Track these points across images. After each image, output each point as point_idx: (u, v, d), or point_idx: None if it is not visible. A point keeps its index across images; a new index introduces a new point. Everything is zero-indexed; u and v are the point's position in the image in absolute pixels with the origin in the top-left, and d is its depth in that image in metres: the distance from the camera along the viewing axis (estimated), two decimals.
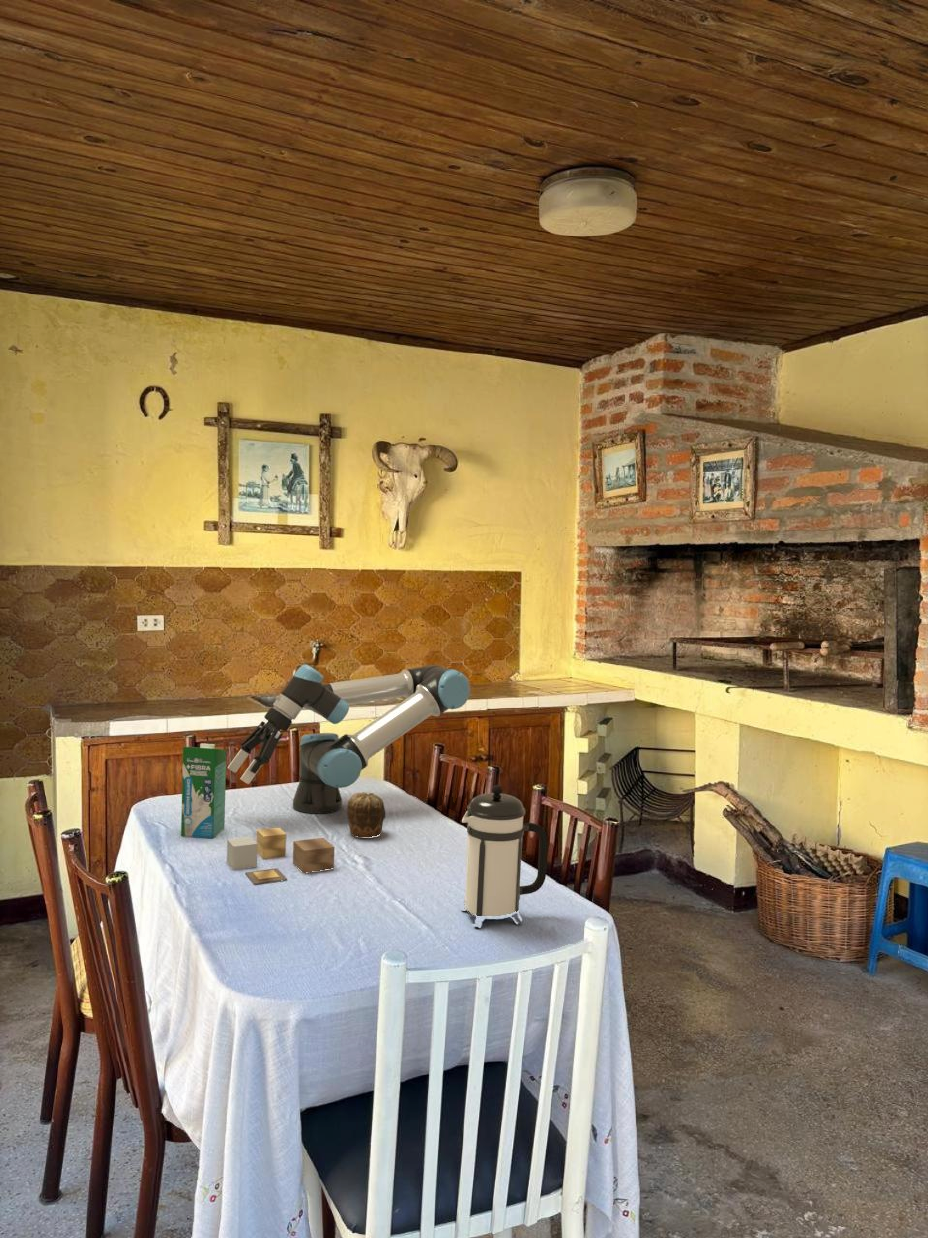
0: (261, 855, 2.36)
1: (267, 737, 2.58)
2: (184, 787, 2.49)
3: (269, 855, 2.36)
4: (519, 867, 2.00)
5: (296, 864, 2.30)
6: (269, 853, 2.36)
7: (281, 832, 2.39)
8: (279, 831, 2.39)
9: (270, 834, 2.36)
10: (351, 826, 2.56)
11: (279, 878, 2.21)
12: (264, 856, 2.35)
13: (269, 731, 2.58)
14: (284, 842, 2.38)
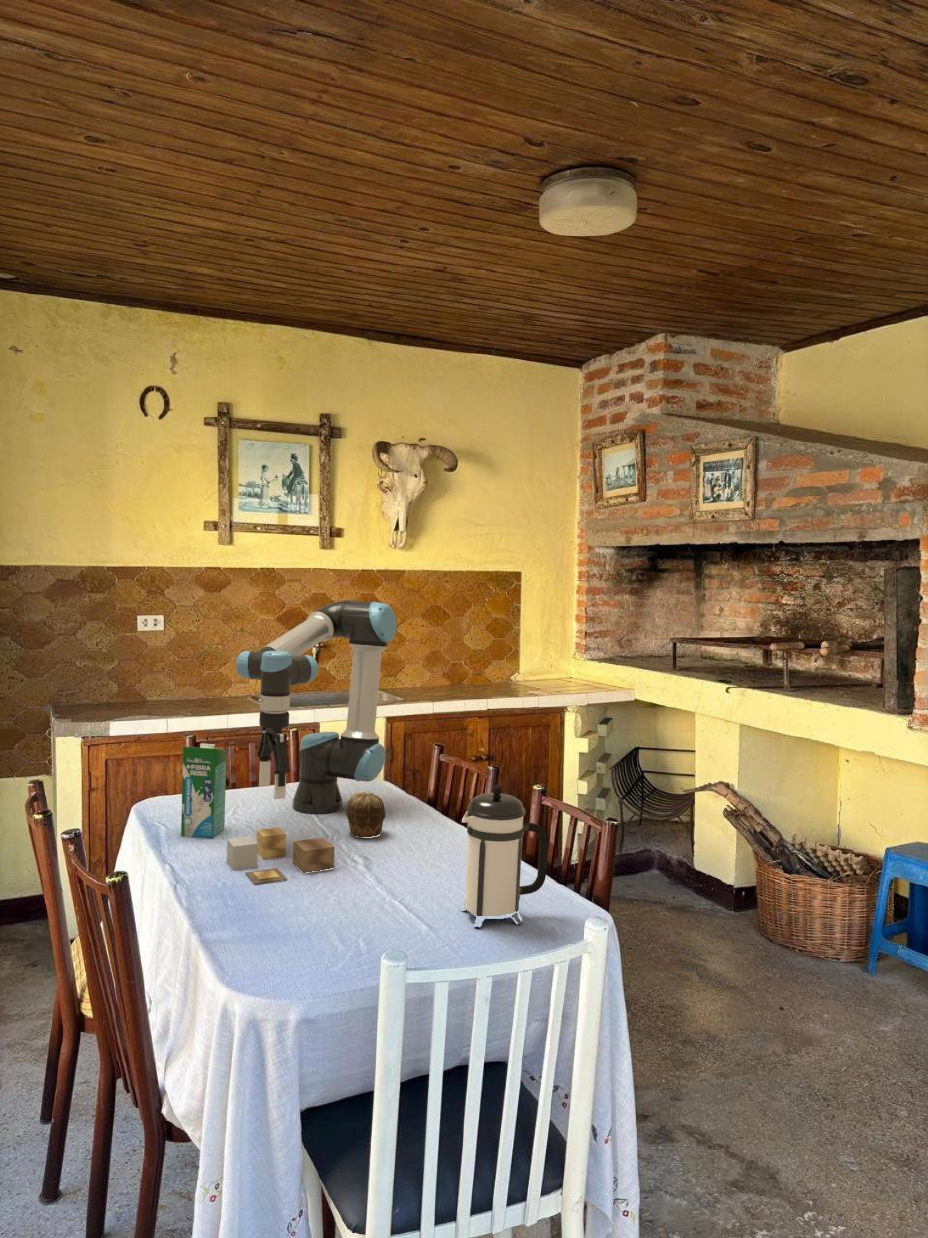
0: (261, 855, 2.36)
1: (274, 743, 2.34)
2: (184, 787, 2.49)
3: (269, 855, 2.36)
4: (519, 867, 2.00)
5: (296, 864, 2.30)
6: (269, 853, 2.36)
7: (281, 832, 2.39)
8: (279, 831, 2.39)
9: (270, 835, 2.36)
10: (351, 826, 2.56)
11: (279, 878, 2.21)
12: (264, 856, 2.35)
13: (272, 737, 2.34)
14: (284, 842, 2.38)
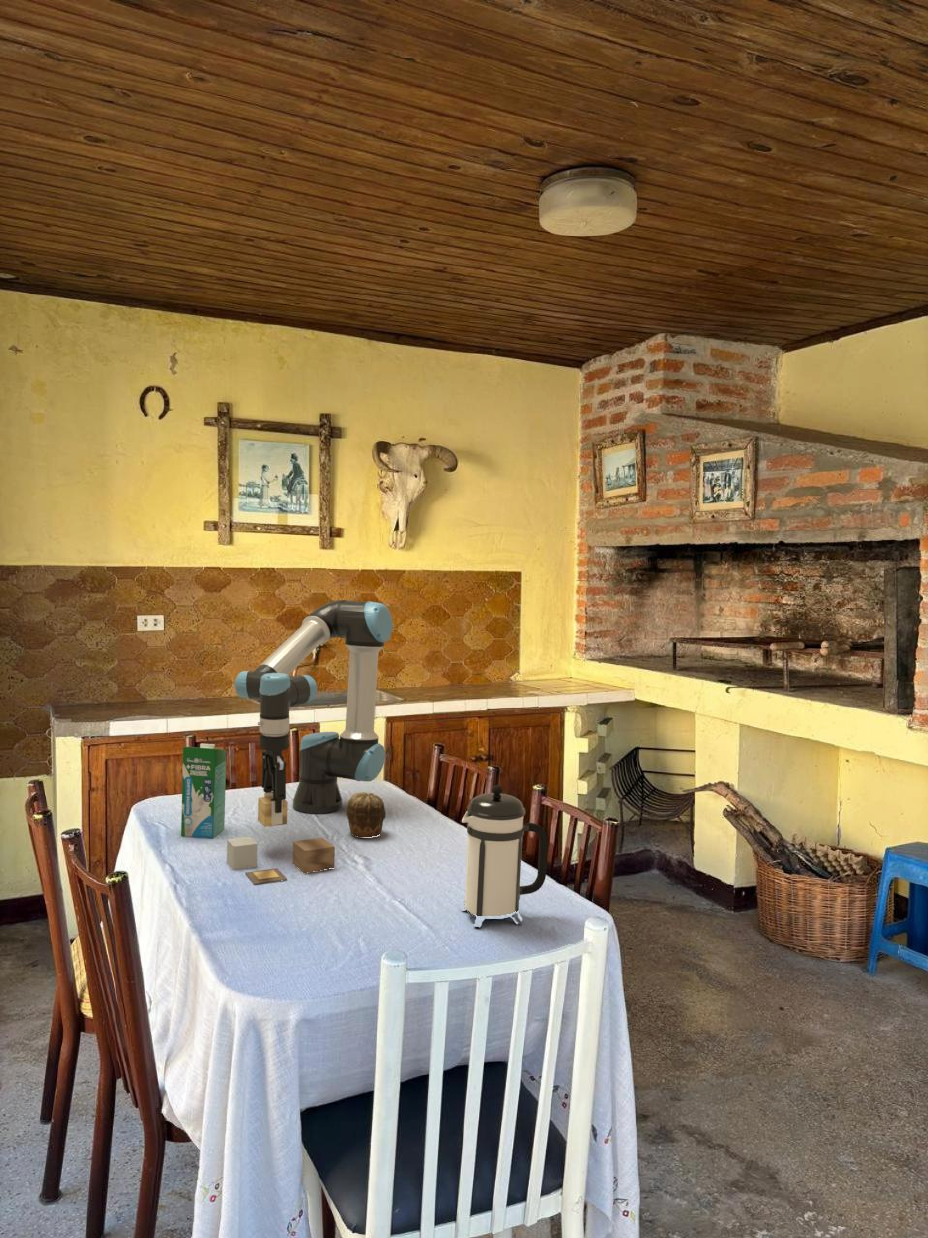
0: (262, 822, 2.36)
1: (275, 766, 2.35)
2: (184, 787, 2.49)
3: (270, 822, 2.36)
4: (519, 867, 2.00)
5: (296, 864, 2.30)
6: None
7: None
8: None
9: None
10: (351, 826, 2.56)
11: (279, 878, 2.21)
12: (265, 823, 2.35)
13: (273, 760, 2.34)
14: (285, 810, 2.37)
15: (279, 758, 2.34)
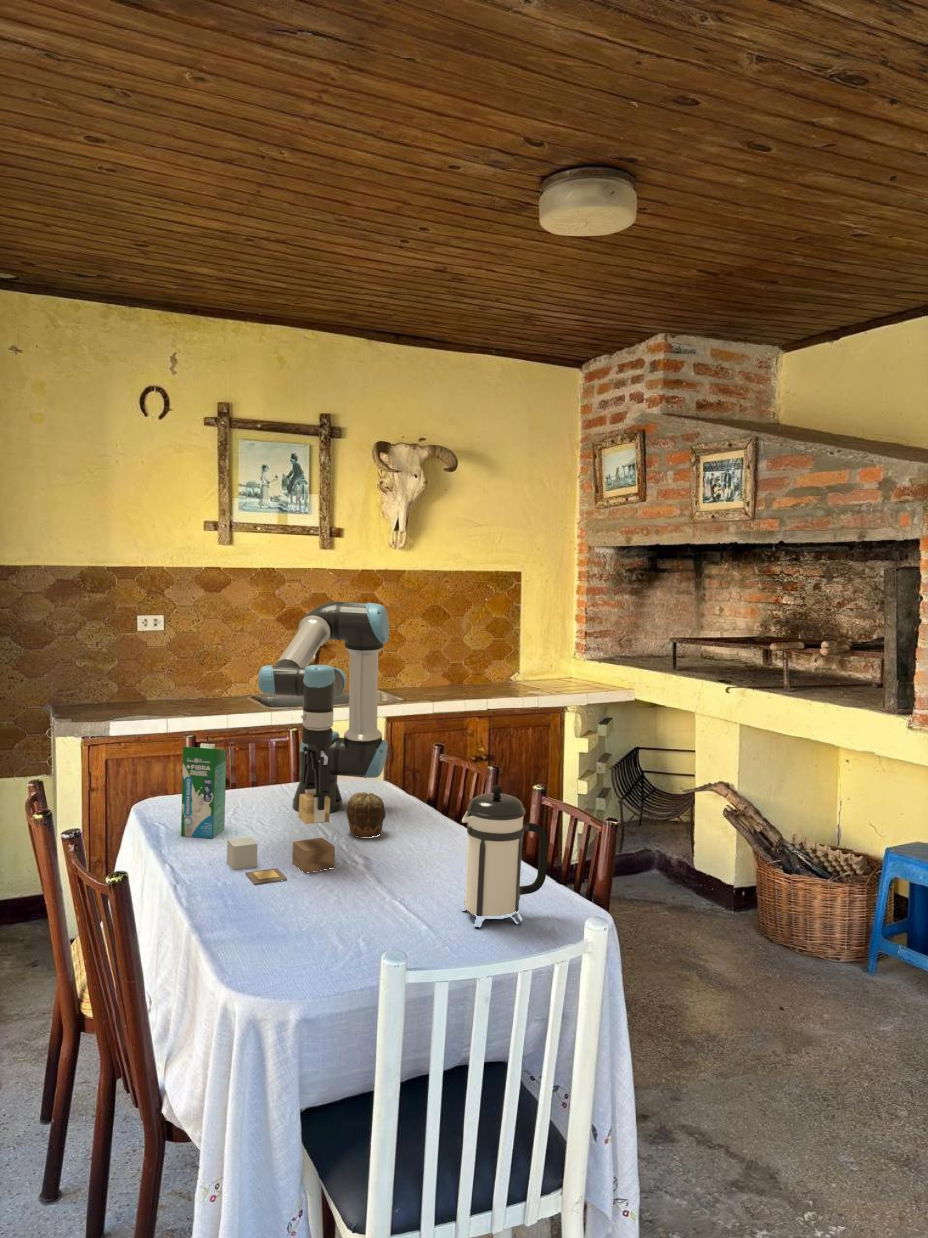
0: (304, 820, 2.27)
1: (318, 761, 2.26)
2: (184, 787, 2.49)
3: (312, 820, 2.27)
4: (519, 867, 2.00)
5: (296, 864, 2.30)
6: (313, 818, 2.27)
7: None
8: None
9: None
10: (351, 826, 2.56)
11: (279, 878, 2.21)
12: (307, 821, 2.26)
13: (316, 754, 2.26)
14: (328, 807, 2.29)
15: (323, 753, 2.25)
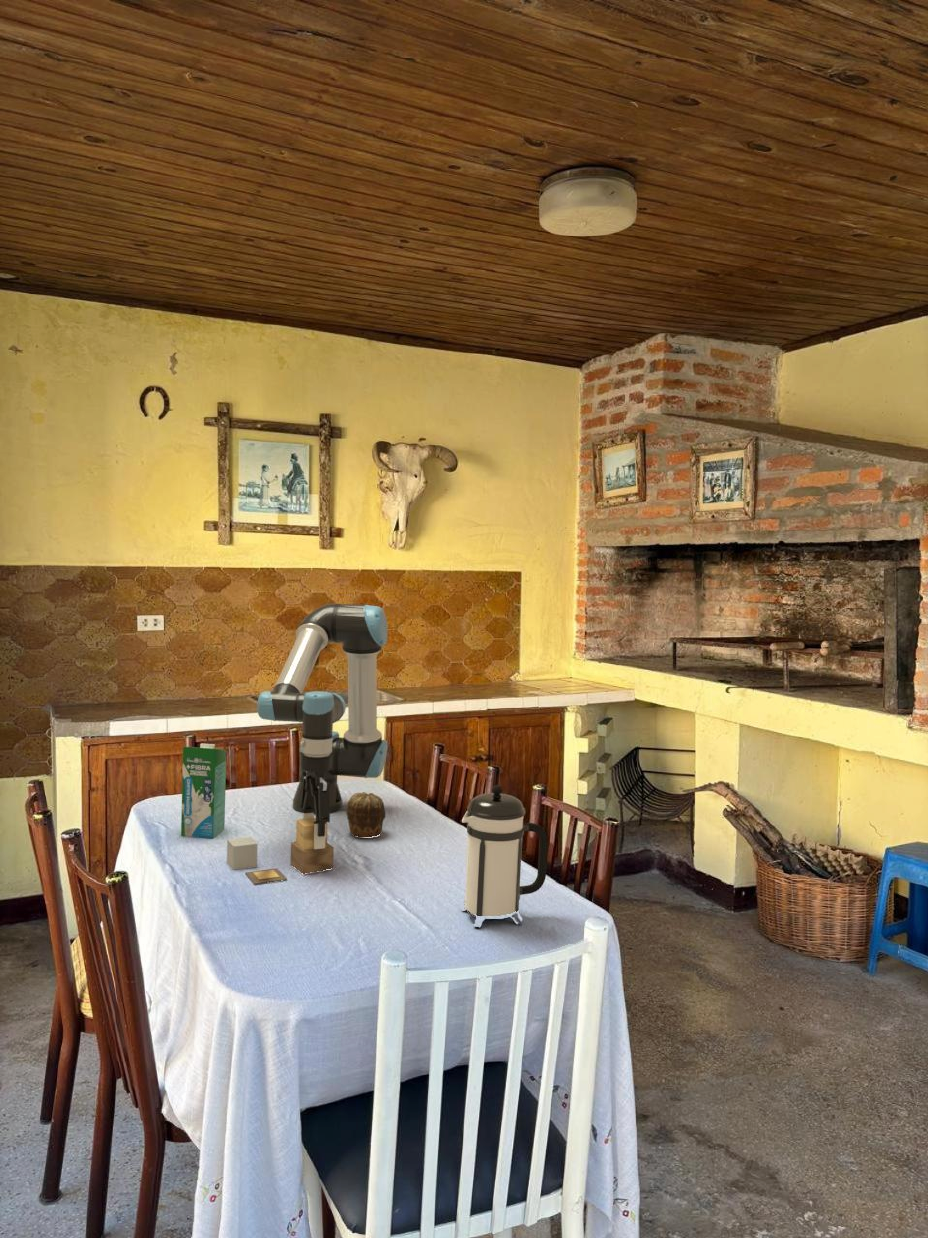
0: (302, 846, 2.27)
1: (317, 788, 2.27)
2: (184, 787, 2.49)
3: (310, 846, 2.26)
4: (519, 867, 2.00)
5: (294, 865, 2.29)
6: (310, 844, 2.26)
7: None
8: None
9: (311, 824, 2.27)
10: (351, 826, 2.56)
11: (279, 878, 2.21)
12: (305, 847, 2.26)
13: (315, 781, 2.26)
14: None
15: (322, 779, 2.26)
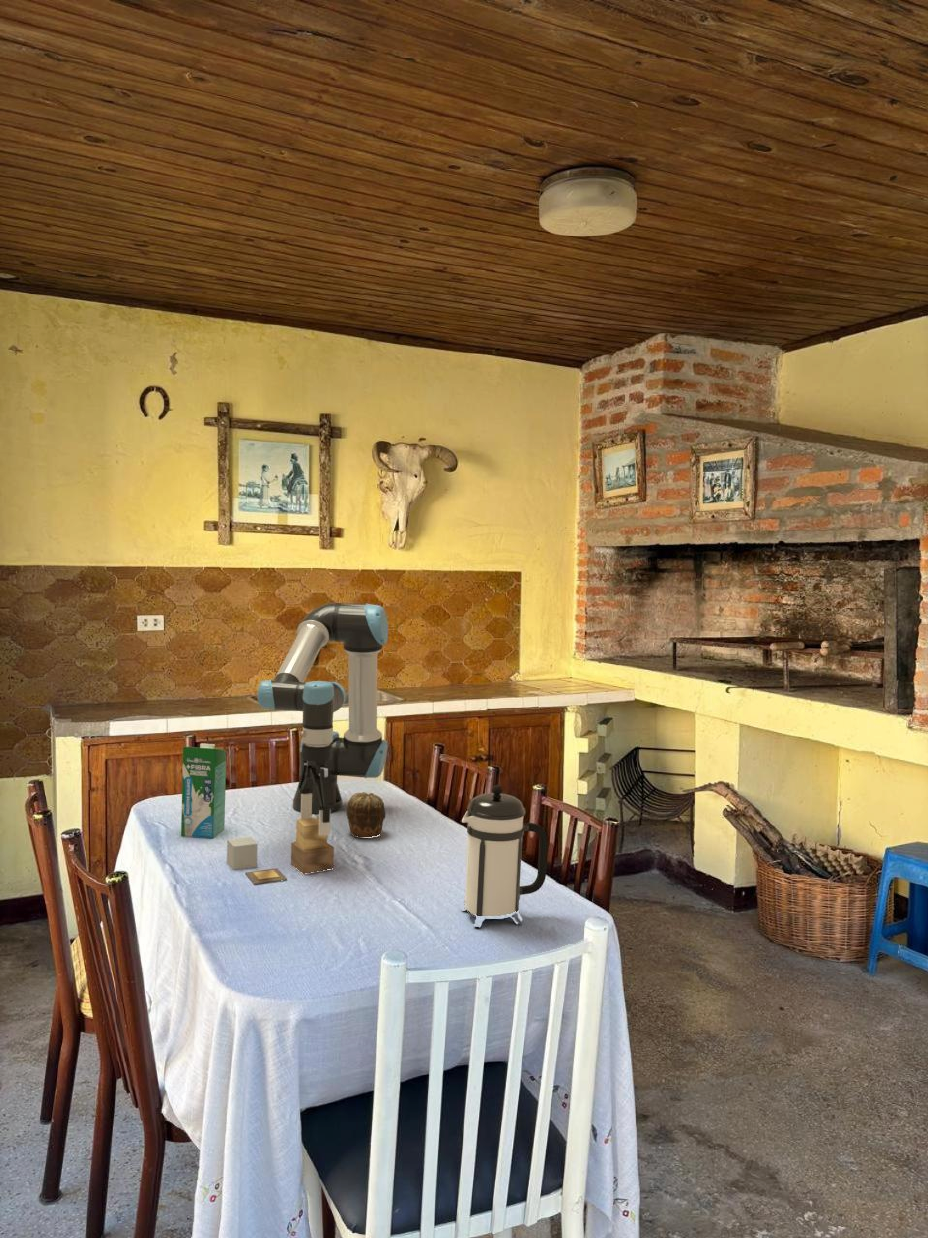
0: (302, 845, 2.27)
1: (318, 777, 2.27)
2: (184, 787, 2.49)
3: (310, 845, 2.27)
4: (519, 867, 2.00)
5: (295, 865, 2.29)
6: (310, 844, 2.27)
7: None
8: None
9: (311, 824, 2.27)
10: (351, 826, 2.56)
11: (279, 878, 2.21)
12: (305, 846, 2.26)
13: (316, 771, 2.26)
14: None
15: (322, 767, 2.26)
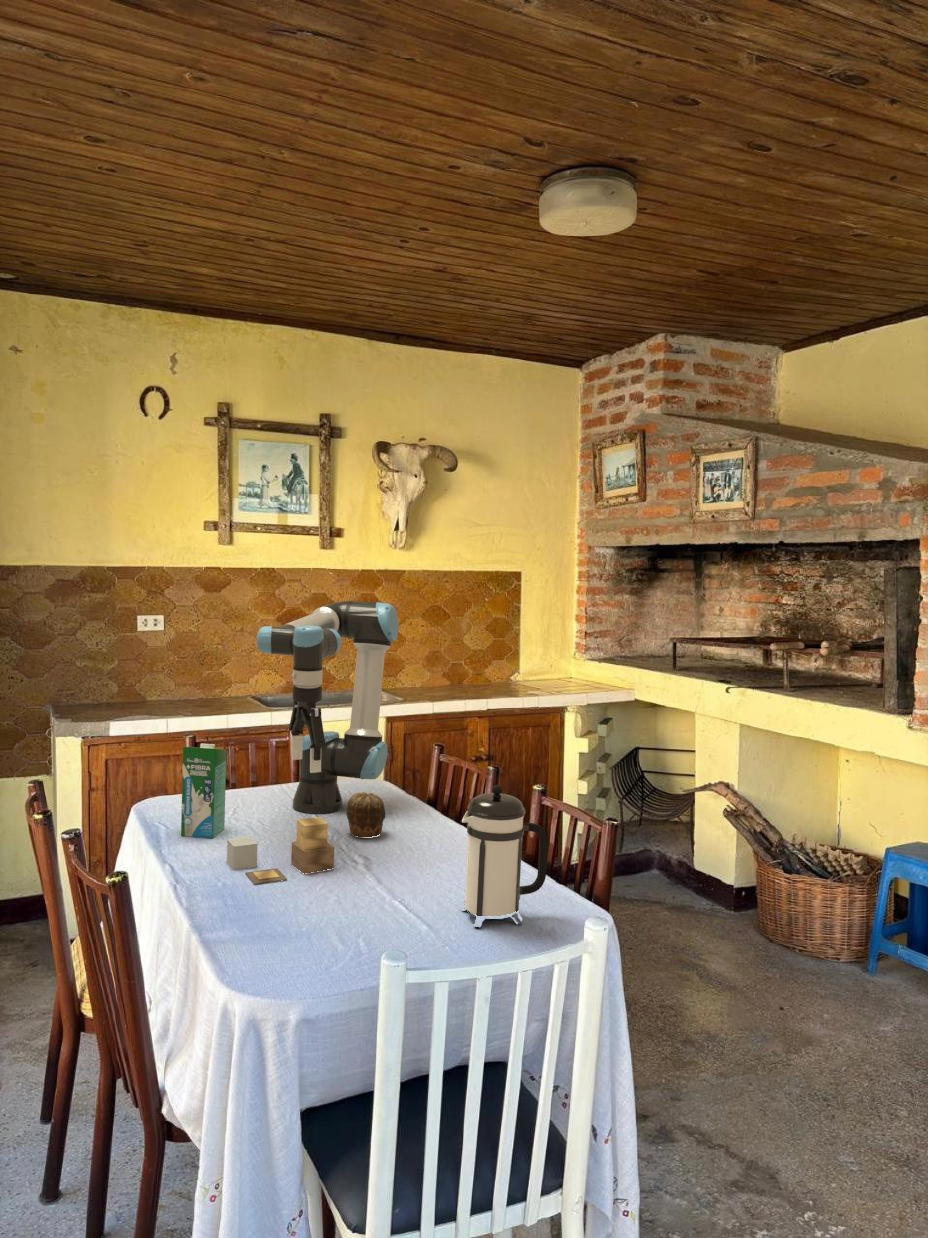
0: (302, 845, 2.27)
1: (308, 717, 2.35)
2: (184, 787, 2.49)
3: (310, 845, 2.27)
4: (519, 867, 2.00)
5: (295, 865, 2.29)
6: (311, 844, 2.27)
7: (322, 822, 2.30)
8: (320, 821, 2.30)
9: (312, 824, 2.27)
10: (351, 826, 2.56)
11: (279, 878, 2.21)
12: (305, 846, 2.26)
13: (306, 711, 2.35)
14: (326, 832, 2.28)
15: (313, 708, 2.34)
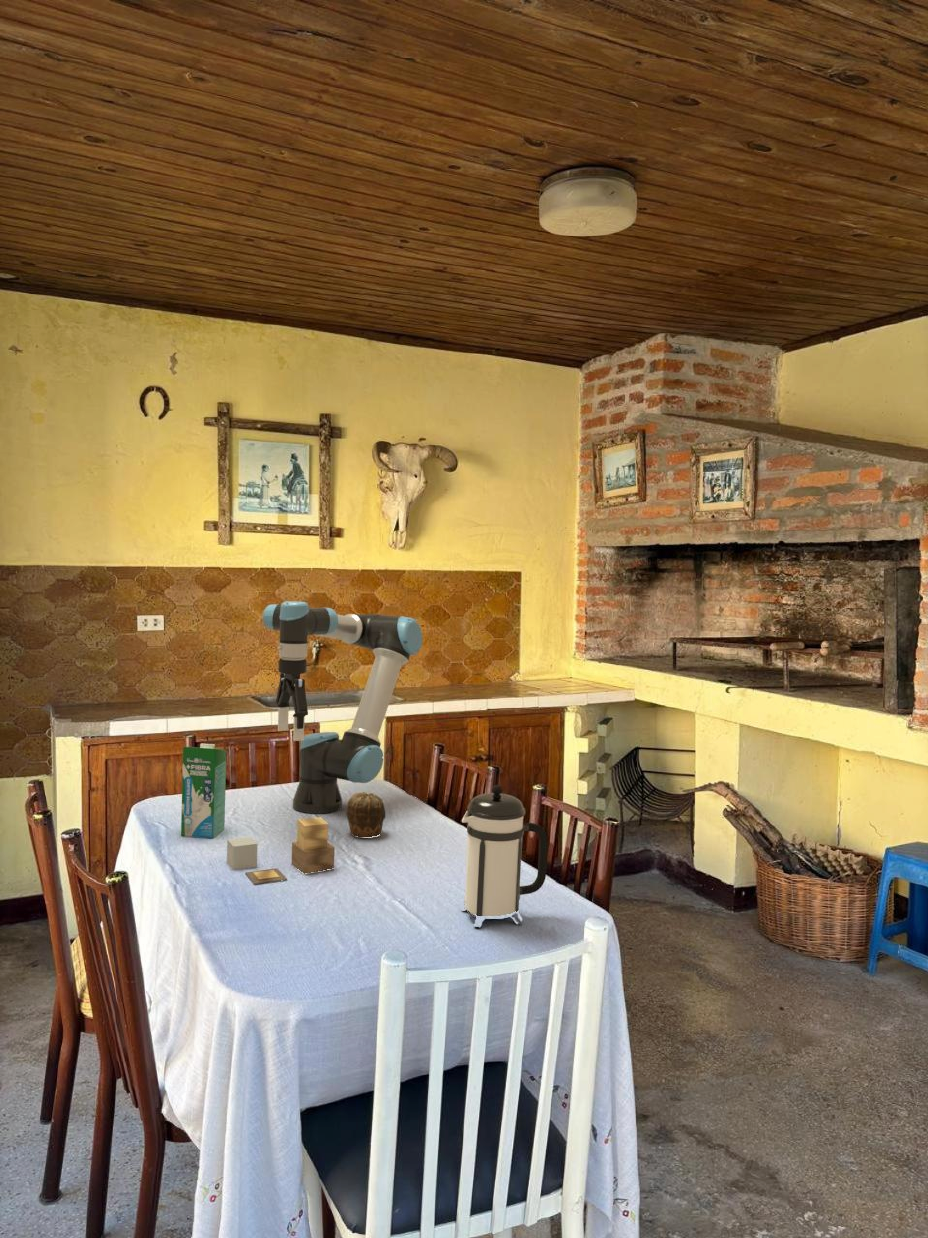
0: (302, 845, 2.27)
1: (293, 688, 2.47)
2: (184, 787, 2.49)
3: (310, 845, 2.27)
4: (519, 867, 2.00)
5: (295, 865, 2.29)
6: (311, 844, 2.27)
7: (323, 822, 2.29)
8: (320, 821, 2.30)
9: (312, 824, 2.27)
10: (351, 826, 2.56)
11: (279, 878, 2.21)
12: (305, 846, 2.26)
13: (291, 682, 2.46)
14: (326, 832, 2.28)
15: (297, 679, 2.46)
